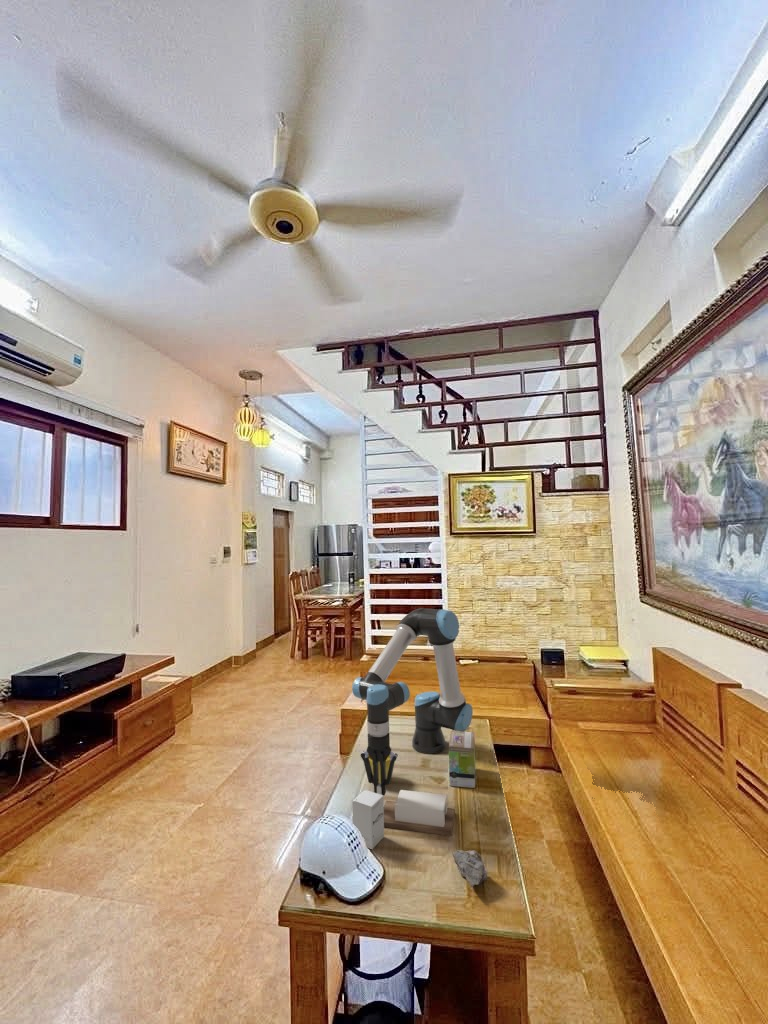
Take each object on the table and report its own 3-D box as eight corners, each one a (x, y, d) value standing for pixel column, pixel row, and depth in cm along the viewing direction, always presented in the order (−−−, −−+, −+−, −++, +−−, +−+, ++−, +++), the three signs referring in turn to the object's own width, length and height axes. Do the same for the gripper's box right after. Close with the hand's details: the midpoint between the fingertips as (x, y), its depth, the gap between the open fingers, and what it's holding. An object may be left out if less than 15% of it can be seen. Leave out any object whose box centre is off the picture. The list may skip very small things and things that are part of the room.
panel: (400, 804, 152) (400, 789, 152) (447, 810, 148) (446, 795, 148) (395, 820, 143) (394, 804, 144) (444, 827, 139) (443, 810, 140)
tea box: (476, 788, 163) (474, 747, 165) (449, 786, 165) (447, 746, 167) (475, 768, 178) (474, 731, 179) (451, 766, 180) (449, 729, 181)
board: (386, 804, 155) (386, 791, 155) (454, 813, 149) (454, 799, 149) (377, 826, 143) (377, 811, 143) (451, 836, 137) (450, 820, 138)
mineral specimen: (480, 896, 120) (446, 891, 118) (477, 860, 126) (444, 854, 125) (496, 887, 114) (461, 882, 112) (492, 850, 120) (458, 844, 119)
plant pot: (391, 789, 165) (390, 762, 165) (364, 787, 167) (364, 760, 167) (396, 775, 175) (395, 749, 175) (371, 773, 177) (370, 748, 177)
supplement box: (372, 851, 131) (371, 807, 132) (352, 842, 135) (351, 800, 136) (385, 836, 138) (384, 795, 139) (365, 829, 142) (364, 788, 143)
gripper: (357, 736, 149) (358, 808, 147) (394, 738, 146) (396, 813, 144) (363, 727, 156) (365, 796, 154) (399, 729, 153) (401, 800, 151)
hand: (380, 804), depth 149 cm, fingers closed
